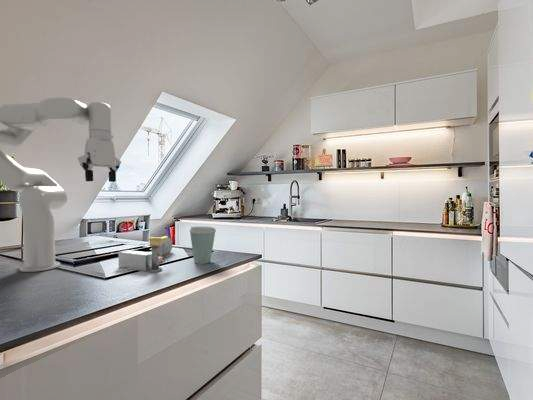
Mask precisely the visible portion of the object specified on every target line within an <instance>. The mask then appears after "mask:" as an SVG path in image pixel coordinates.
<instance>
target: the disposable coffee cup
mask: <svg viewBox="0 0 533 400" xmlns="http://www.w3.org/2000/svg"><path fill="white" fill-rule="evenodd" d="M216 230H217V229H216V228H215V227H214V226H204V225H203V226H198V225H197V226H190V229H189V233H190V242H191V248H192V256H193V261H194V263H195V264H199V265H200V264H201V265H202V264H203V265H205V264H208V263H210V262H211V261H212V255H213V249H214V242H215V235H216V232H217V231H216Z"/></svg>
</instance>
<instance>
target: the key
mask: <svg viewBox="0 0 533 400" xmlns="http://www.w3.org/2000/svg"><path fill="white" fill-rule="evenodd" d="M163 236H164V237H163ZM163 236H160V237H157V236H156V237H155V236H154V237H152V236H149V237H148V241H149V246H150V247H152V246H160V244H163V243H165V242H168V236H169V235H168V236H167V235H163Z"/></svg>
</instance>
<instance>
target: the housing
mask: <svg viewBox="0 0 533 400" xmlns="http://www.w3.org/2000/svg"><path fill="white" fill-rule="evenodd" d="M117 255H118V268H119V267H121V268H120V269H126V268H131V269H130V270H133V269H137V270H136V271H140V272H141V271H142V272H148V273H159V272H162V271H163V268H162V267H160V263H159V248H158V246H151V252H150V251H149V252H148V251H141V250H140V251H139V250H132V249H125V250H122V251H118V253H117Z"/></svg>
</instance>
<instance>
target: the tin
mask: <svg viewBox="0 0 533 400" xmlns="http://www.w3.org/2000/svg"><path fill="white" fill-rule="evenodd" d="M164 236H165V235H163V236H162V237H164ZM158 248H159V257H164V256H166V255H169V254H170V253H171V252H172V249H173V238H172V236H169V235H168V242H165V243H163V244H160V246H158Z"/></svg>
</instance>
